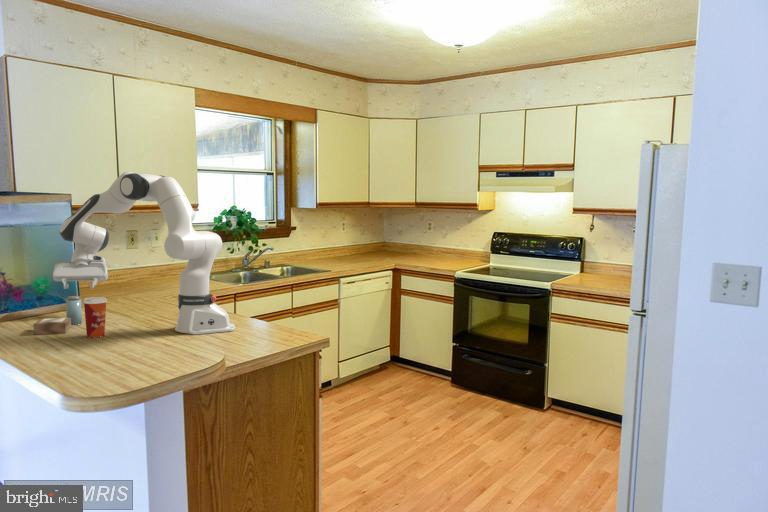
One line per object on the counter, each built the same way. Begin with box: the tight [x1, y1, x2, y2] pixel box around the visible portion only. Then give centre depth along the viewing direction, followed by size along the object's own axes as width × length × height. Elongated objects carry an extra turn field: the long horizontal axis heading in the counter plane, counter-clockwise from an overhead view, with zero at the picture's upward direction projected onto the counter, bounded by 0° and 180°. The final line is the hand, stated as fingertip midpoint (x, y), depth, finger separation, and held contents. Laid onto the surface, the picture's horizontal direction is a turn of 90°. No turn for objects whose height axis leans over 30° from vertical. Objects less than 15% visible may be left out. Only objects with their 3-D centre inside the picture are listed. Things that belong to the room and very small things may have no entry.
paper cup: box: [82, 296, 108, 338], centre depth 188 cm, size 8×8×14 cm
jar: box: [65, 295, 83, 326], centre depth 205 cm, size 5×5×11 cm
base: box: [33, 317, 72, 336], centre depth 193 cm, size 10×10×4 cm
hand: (78, 287), depth 214 cm, fingers open, 8 cm apart
